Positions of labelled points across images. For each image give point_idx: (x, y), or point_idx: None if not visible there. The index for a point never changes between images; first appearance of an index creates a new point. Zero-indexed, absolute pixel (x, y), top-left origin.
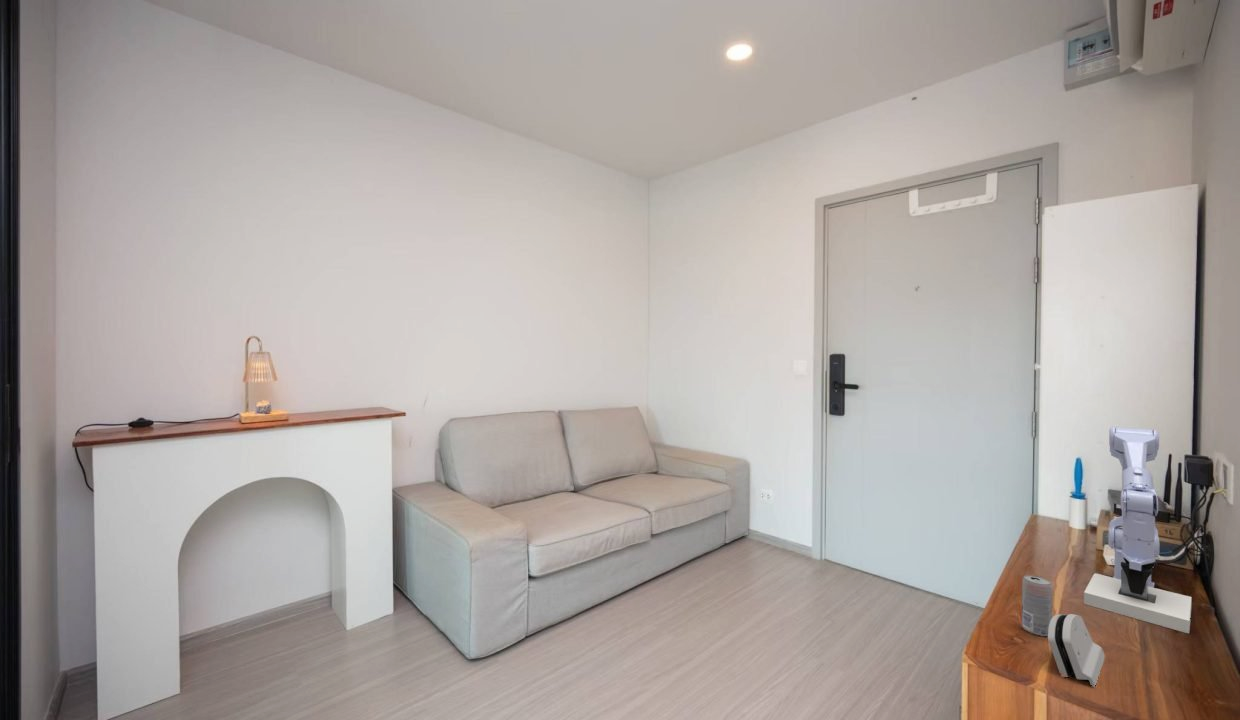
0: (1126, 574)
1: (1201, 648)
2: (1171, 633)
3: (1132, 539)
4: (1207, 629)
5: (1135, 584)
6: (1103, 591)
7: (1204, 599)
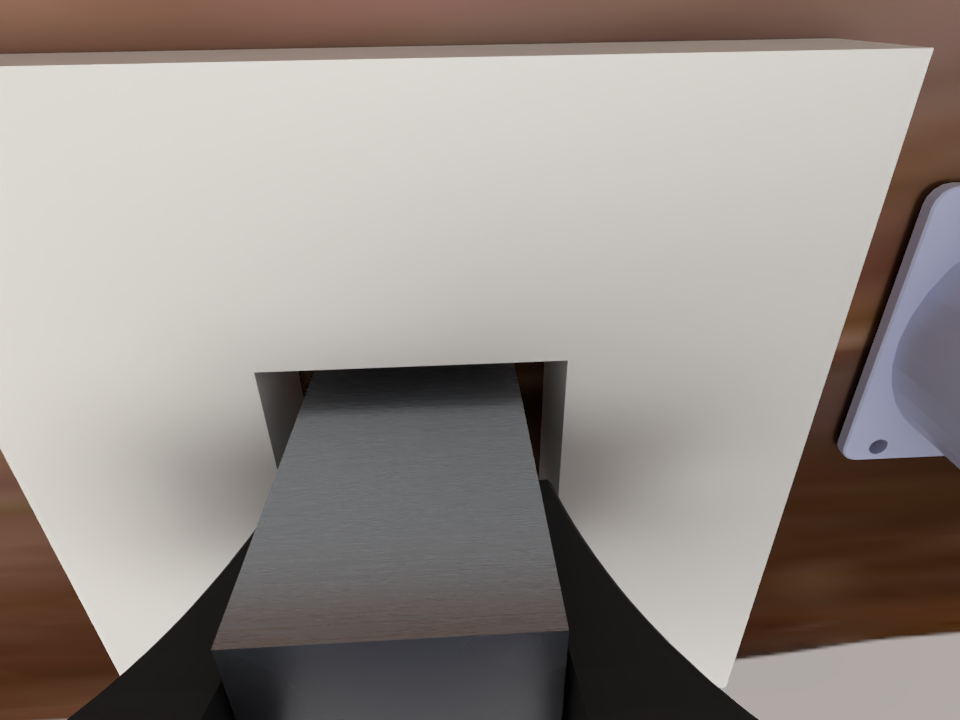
0: (109, 689)
1: (6, 676)
2: (68, 585)
3: None
4: None
5: None
6: (159, 256)
7: (950, 627)
